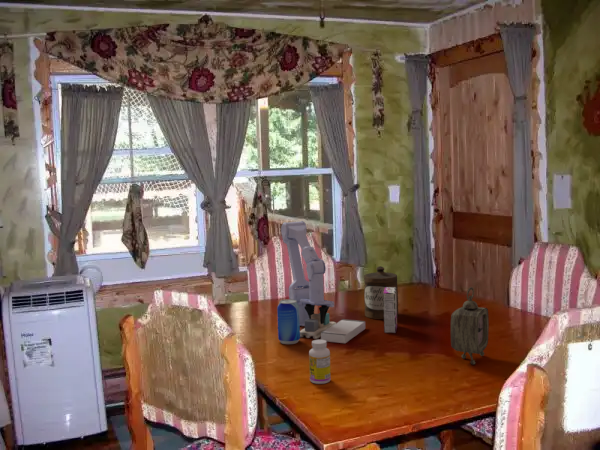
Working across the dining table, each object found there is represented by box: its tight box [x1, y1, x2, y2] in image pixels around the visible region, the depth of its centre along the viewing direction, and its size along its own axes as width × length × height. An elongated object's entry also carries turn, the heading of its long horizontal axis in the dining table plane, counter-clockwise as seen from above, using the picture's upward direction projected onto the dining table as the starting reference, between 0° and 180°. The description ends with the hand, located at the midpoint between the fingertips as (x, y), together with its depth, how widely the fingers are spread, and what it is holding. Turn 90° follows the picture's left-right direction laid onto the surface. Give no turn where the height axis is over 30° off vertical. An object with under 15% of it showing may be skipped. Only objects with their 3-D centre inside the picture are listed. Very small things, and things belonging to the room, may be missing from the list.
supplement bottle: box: [308, 339, 332, 385], centre depth 197 cm, size 7×7×13 cm
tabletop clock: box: [450, 287, 490, 366], centre depth 213 cm, size 14×9×25 cm, turn 148°
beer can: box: [276, 298, 301, 345], centre depth 241 cm, size 8×8×16 cm
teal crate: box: [318, 312, 331, 325], centre depth 259 cm, size 4×4×4 cm
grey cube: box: [304, 319, 318, 332], centre depth 249 cm, size 4×4×4 cm
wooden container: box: [363, 266, 399, 320], centre depth 277 cm, size 15×15×22 cm
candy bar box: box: [383, 287, 398, 334], centre depth 254 cm, size 11×5×16 cm, turn 168°
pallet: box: [300, 313, 337, 340], centre depth 254 cm, size 8×19×7 cm, turn 154°
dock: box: [320, 318, 366, 344], centre depth 249 cm, size 10×22×3 cm, turn 154°
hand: (317, 322), depth 254 cm, fingers closed on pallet, 4 cm apart
